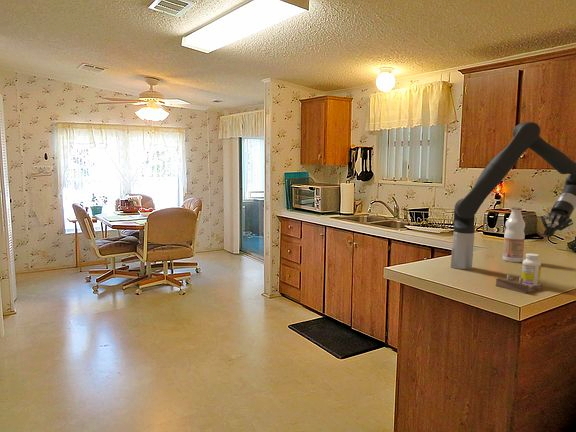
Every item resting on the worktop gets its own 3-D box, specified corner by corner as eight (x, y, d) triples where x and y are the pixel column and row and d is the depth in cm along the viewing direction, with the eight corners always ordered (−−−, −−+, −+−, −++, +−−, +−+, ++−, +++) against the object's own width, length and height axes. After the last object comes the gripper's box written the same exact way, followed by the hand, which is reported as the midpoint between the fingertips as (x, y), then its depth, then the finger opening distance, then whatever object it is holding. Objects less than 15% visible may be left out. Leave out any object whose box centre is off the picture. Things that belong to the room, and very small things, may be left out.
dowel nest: (512, 281, 177) (513, 270, 177) (541, 289, 167) (542, 276, 167) (495, 285, 171) (496, 273, 170) (525, 293, 161) (526, 280, 160)
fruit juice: (498, 259, 221) (502, 207, 217) (508, 257, 226) (512, 206, 223) (516, 263, 213) (521, 208, 210) (526, 261, 218) (530, 207, 215)
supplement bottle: (532, 282, 177) (535, 252, 175) (542, 287, 170) (545, 256, 169) (517, 282, 177) (519, 252, 175) (526, 287, 170) (529, 256, 169)
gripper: (545, 198, 186) (528, 227, 181) (579, 201, 175) (562, 232, 170) (550, 210, 189) (534, 238, 184) (584, 213, 178) (567, 243, 173)
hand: (547, 235), depth 177 cm, fingers closed
